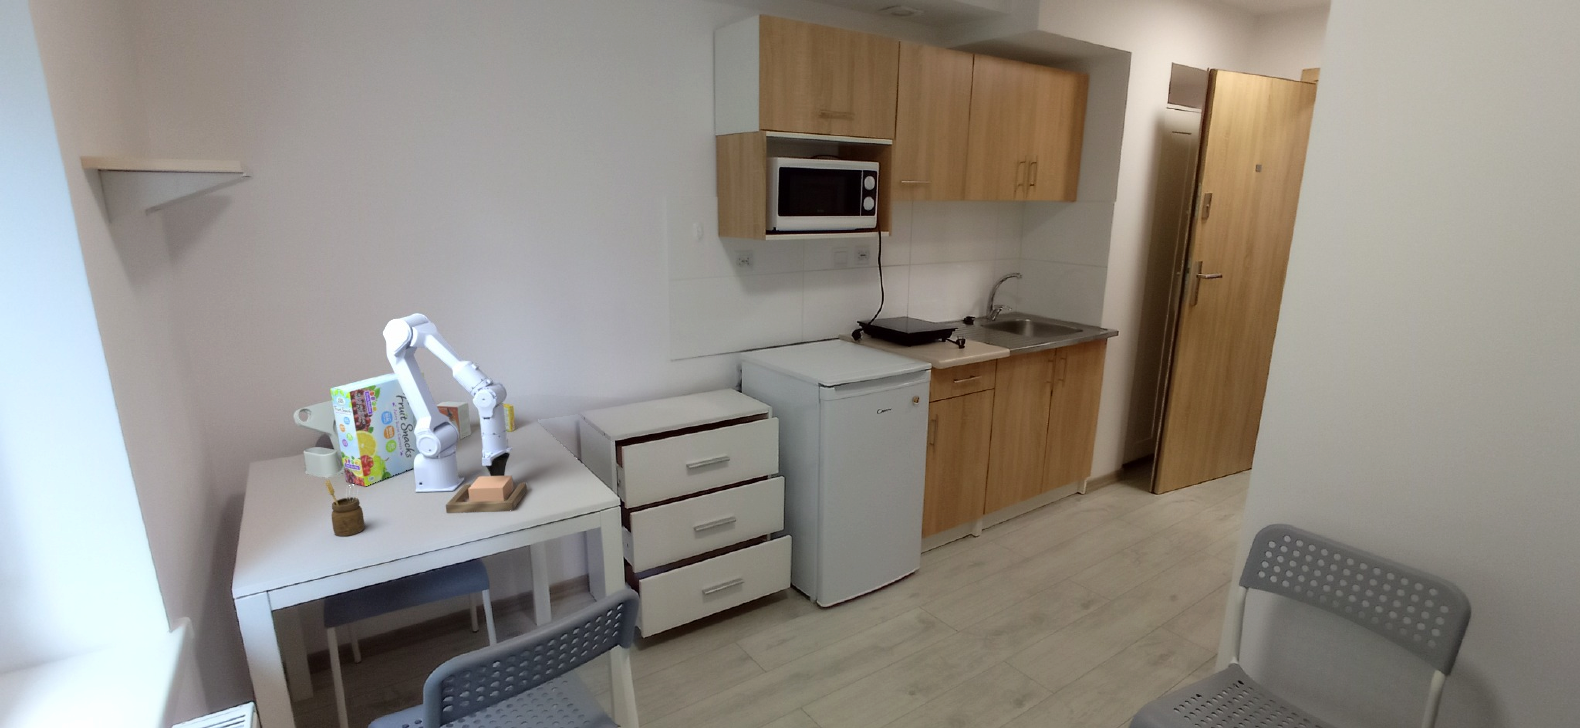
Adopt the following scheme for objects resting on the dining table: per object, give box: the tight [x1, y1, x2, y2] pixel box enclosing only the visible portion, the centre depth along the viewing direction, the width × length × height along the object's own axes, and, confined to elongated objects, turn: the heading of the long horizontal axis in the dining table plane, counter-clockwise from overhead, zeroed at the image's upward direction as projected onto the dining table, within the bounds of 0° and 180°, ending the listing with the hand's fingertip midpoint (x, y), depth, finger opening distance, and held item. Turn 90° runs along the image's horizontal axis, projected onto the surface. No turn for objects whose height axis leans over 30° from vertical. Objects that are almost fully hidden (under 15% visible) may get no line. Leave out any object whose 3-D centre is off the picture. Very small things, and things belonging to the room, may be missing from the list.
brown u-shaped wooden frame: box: [445, 482, 528, 514], centre depth 178 cm, size 15×12×2 cm
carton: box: [468, 475, 514, 502], centre depth 181 cm, size 8×8×4 cm
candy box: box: [477, 402, 515, 433], centre depth 235 cm, size 16×2×8 cm, turn 58°
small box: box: [436, 400, 472, 440], centre depth 225 cm, size 8×6×10 cm
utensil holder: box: [324, 478, 365, 537], centre depth 161 cm, size 6×6×12 cm
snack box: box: [329, 371, 425, 487], centre depth 195 cm, size 22×9×26 cm, turn 155°
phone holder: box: [293, 399, 344, 479], centre depth 200 cm, size 17×10×18 cm, turn 158°
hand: (498, 482), depth 186 cm, fingers closed
